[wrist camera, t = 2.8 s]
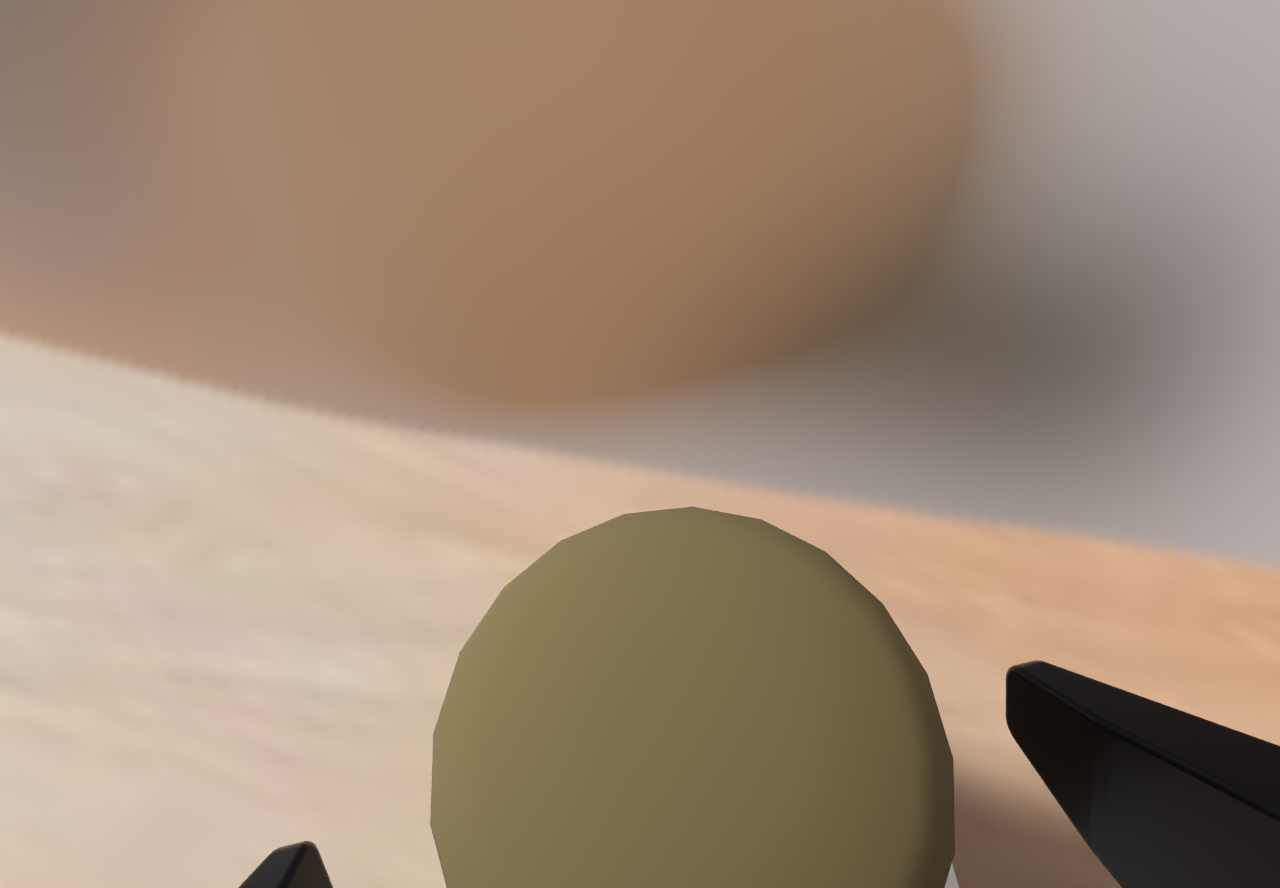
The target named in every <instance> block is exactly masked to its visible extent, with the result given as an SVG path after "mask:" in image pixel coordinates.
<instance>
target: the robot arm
mask: <svg viewBox="0 0 1280 888" xmlns="http://www.w3.org/2000/svg"><path fill="white" fill-rule="evenodd" d="M1006 720H1007V725H1008V728H1009V730H1010V732H1011V734H1012V736H1013V738H1014V739H1015V741H1016V742H1017V744H1018V745H1019V747H1020V748H1021V749H1022V751H1023V752H1024V754H1025V755H1026V757H1027V758H1028V760H1029V761H1030V763H1031V764H1032V765H1033V767H1034V768H1035V770H1036V771H1037V773H1038V774H1039V776H1040V777H1041V779H1042V780H1043V781H1044V783H1045V784H1046V786H1047V787H1048V789H1049V790H1050V792H1051V793H1052V794H1053V796H1054V797H1055V799H1056V800H1057V802H1058V803H1059V805H1060V806H1061V808H1062V809H1063V810H1064V812H1065V813H1066V815H1067V816H1068V818H1069V819H1070V821H1071V822H1072V824H1073V825H1074V826H1075V828H1076V829H1077V831H1078V832H1079V833H1080V835H1081V836H1082V838H1083V839H1084V840H1085V842H1086V843H1087V844H1088V846H1089V847H1090V848H1091V850H1092V851H1093V852H1094V853H1095V855H1096V856H1097V857H1098V858H1099V860H1100V861H1101V862H1102V864H1103V865H1104V866H1105V867H1106V868H1107V870H1108V871H1109V872H1110V873H1111V875H1112V876H1113V877H1114V878H1115V879H1116V881H1117V882H1118V883H1119V884H1120V885H1121V887H1122V888H1280V746H1278V745H1275V744H1272V743H1270V742H1267V741H1264V740H1261V739H1258V738H1256V737H1253V736H1250V735H1247V734H1245V733H1242V732H1239V731H1236V730H1233V729H1231V728H1228V727H1225V726H1222V725H1219V724H1217V723H1214V722H1211V721H1208V720H1205V719H1203V718H1200V717H1197V716H1194V715H1191V714H1189V713H1186V712H1183V711H1180V710H1177V709H1175V708H1172V707H1169V706H1166V705H1164V704H1161V703H1158V702H1155V701H1152V700H1150V699H1147V698H1144V697H1141V696H1138V695H1136V694H1133V693H1130V692H1127V691H1124V690H1122V689H1119V688H1116V687H1113V686H1110V685H1108V684H1105V683H1102V682H1099V681H1096V680H1094V679H1091V678H1088V677H1085V676H1083V675H1080V674H1077V673H1074V672H1071V671H1069V670H1066V669H1063V668H1060V667H1057V666H1055V665H1052V664H1049V663H1046V662H1043V661H1031V662H1027V663H1023V664H1018V665H1014V666H1012V667H1010V668H1009V669H1008V671H1007V673H1006ZM239 888H333V886H332V884H331V881H330V879H329V876H328V874H327V871H326V868H325V866H324V863H323V861H322V858H321V856H320V853H319V851H318V849H317V847H316V845H315V844H314V843H313V842H310V841H304V842H300V843H296V844H292V845H288V846H284V847H280V848H278V849H276V850H274V851H273V852H272V853H271V854H270V855H269V856H268V857H267V858H266V859H265V860H264V861H263V862H262V863H261V864H260V865H259V866H258V867H257V868H256V869H255V871H254V872H253V873H252V874H251V875H250V876H249V877H248V878H247V879H246V880H245V881H244V882H243V883H242V884H241V886H240V887H239Z"/></svg>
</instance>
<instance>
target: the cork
mask: <svg viewBox="0 0 1280 888" xmlns="http://www.w3.org/2000/svg"><path fill="white" fill-rule="evenodd" d="M430 825H431V829H432V833H433V837H434V840H435V844H436V848H437V852H438V856H439V859H440V863H441V867H442V871H443V875H444V878H445V882H446V886H447V888H945V884H946V881H947V877H948V874H949V871H950V867H951V864H952V860H953V857H954V854H955V840H954V777H953V757H952V753H951V750H950V747H949V743H948V740H947V737H946V734H945V730H944V727H943V724H942V720H941V717H940V714H939V711H938V707H937V704H936V701H935V698H934V694H933V691H932V688H931V684H930V681H929V678H928V675H927V673H926V671H925V669H924V668H923V666H922V665H921V663H920V662H919V660H918V658H917V657H916V655H915V654H914V652H913V651H912V649H911V647H910V646H909V644H908V643H907V641H906V640H905V638H904V636H903V635H902V633H901V632H900V630H899V628H898V627H897V625H896V624H895V622H894V621H893V619H892V617H891V616H890V614H889V613H888V611H887V610H886V608H885V606H884V605H883V604H882V603H881V602H880V601H879V600H878V599H877V598H876V597H875V596H874V595H873V594H871V593H870V592H869V591H868V590H867V589H866V588H865V587H864V586H863V585H862V584H860V583H859V582H858V581H857V580H856V579H855V578H854V577H853V576H852V575H851V574H849V573H848V572H847V571H846V570H845V569H844V568H843V567H842V566H841V565H840V564H838V563H837V562H836V561H835V560H834V559H833V558H832V557H831V556H830V555H829V554H827V553H826V552H825V551H823V550H821V549H819V548H817V547H815V546H813V545H811V544H809V543H807V542H805V541H803V540H801V539H799V538H797V537H795V536H793V535H791V534H789V533H787V532H785V531H783V530H781V529H779V528H777V527H775V526H773V525H771V524H769V523H767V522H765V521H763V520H761V519H756V518H750V517H745V516H739V515H734V514H729V513H723V512H718V511H712V510H707V509H702V508H696V507H687V508H677V509H668V510H658V511H649V512H640V513H630V514H624V515H621V516H619V517H616V518H614V519H612V520H609V521H607V522H605V523H602V524H600V525H597V526H595V527H593V528H590V529H588V530H586V531H583V532H581V533H578V534H576V535H574V536H571V537H569V538H567V539H564V540H562V541H560V542H559V543H557V544H556V545H555V546H554V547H553V548H551V549H550V550H549V551H548V552H546V553H545V554H544V555H543V556H542V557H540V558H539V559H538V560H537V561H536V562H534V563H533V564H532V565H531V566H529V567H528V568H527V569H526V570H525V571H523V572H522V573H521V574H520V575H519V576H517V577H516V578H515V579H514V580H512V581H511V582H510V583H509V584H508V585H506V586H505V587H504V588H503V590H502V591H501V593H500V594H499V595H498V597H497V598H496V600H495V601H494V603H493V604H492V606H491V607H490V609H489V610H488V612H487V613H486V615H485V616H484V618H483V619H482V621H481V622H480V623H479V625H478V626H477V628H476V629H475V631H474V632H473V634H472V635H471V637H470V638H469V640H468V641H467V643H466V644H465V646H464V647H463V649H462V650H461V651H460V653H459V657H458V660H457V663H456V666H455V669H454V672H453V675H452V678H451V681H450V684H449V687H448V690H447V693H446V696H445V700H444V703H443V706H442V709H441V712H440V715H439V718H438V721H437V724H436V727H435V730H434V734H433V764H432V793H431V823H430Z"/></svg>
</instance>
